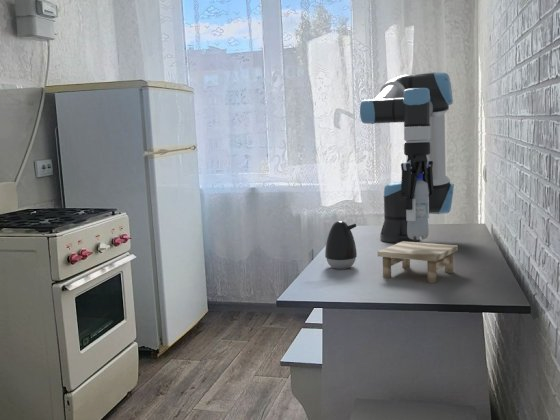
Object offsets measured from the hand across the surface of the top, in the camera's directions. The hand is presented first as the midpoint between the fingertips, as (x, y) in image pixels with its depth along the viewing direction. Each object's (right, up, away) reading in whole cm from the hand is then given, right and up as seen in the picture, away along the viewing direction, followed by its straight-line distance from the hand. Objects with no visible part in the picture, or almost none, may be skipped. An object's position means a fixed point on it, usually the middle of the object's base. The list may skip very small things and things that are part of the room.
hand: (417, 219), depth 182 cm
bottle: (0, -6, +1) cm, 6 cm away
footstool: (+1, -17, +2) cm, 17 cm away
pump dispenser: (-21, -16, +16) cm, 31 cm away
